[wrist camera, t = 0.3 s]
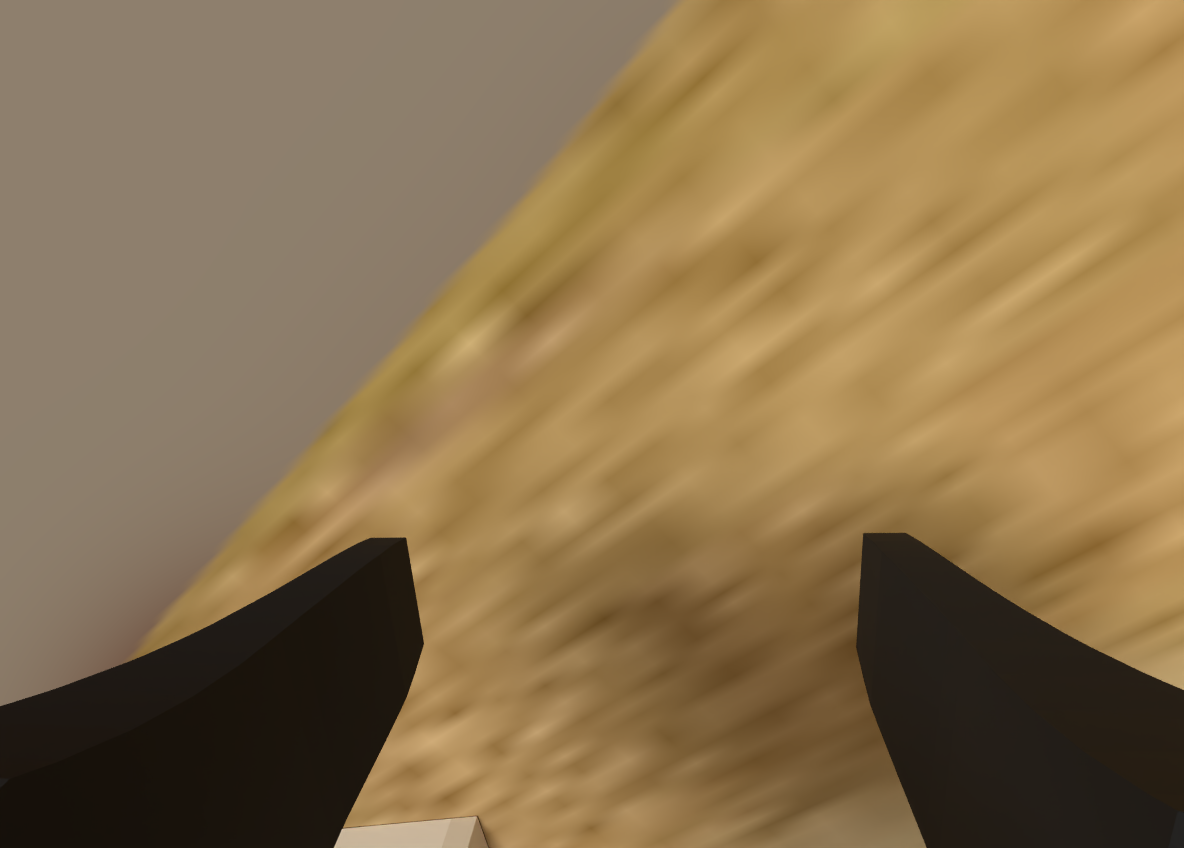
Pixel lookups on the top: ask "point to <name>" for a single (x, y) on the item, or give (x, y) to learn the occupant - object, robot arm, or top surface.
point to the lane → (416, 835)
